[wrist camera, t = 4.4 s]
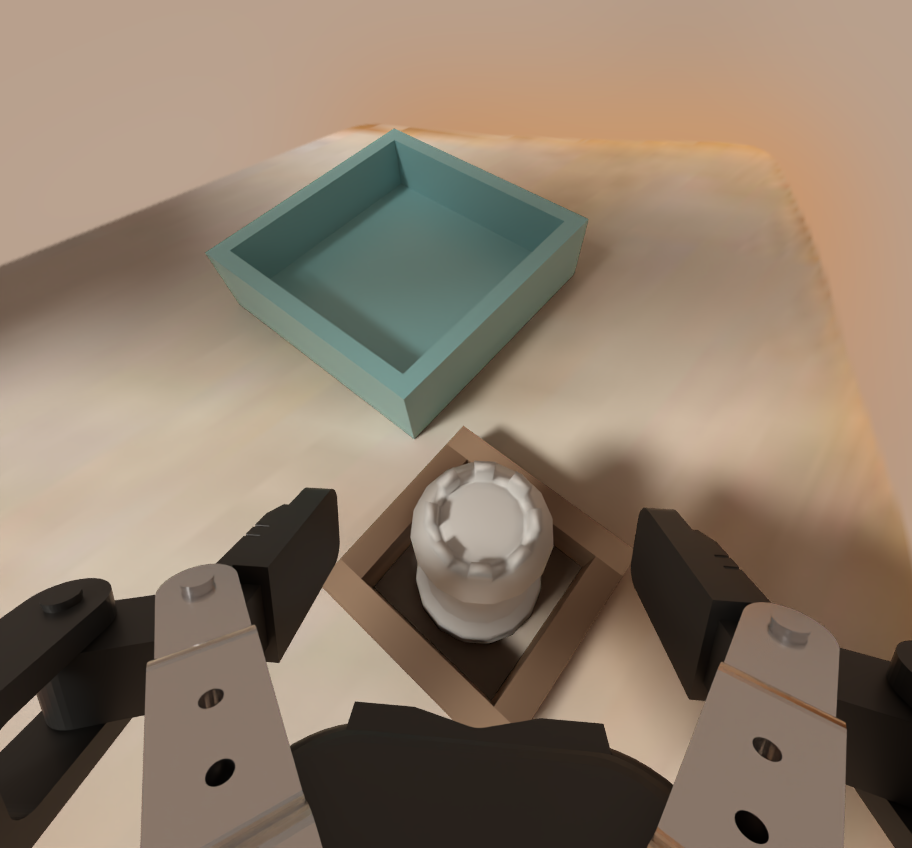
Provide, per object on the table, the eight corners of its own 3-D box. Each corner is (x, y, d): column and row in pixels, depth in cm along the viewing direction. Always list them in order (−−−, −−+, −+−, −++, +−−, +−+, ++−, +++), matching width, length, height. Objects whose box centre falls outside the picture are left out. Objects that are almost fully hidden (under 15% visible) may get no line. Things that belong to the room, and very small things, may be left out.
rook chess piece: (402, 623, 16) (343, 595, 8) (437, 505, 18) (413, 404, 10) (525, 661, 15) (574, 665, 8) (548, 534, 17) (603, 445, 10)
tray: (238, 303, 23) (205, 252, 20) (402, 184, 27) (393, 128, 24) (414, 438, 19) (403, 399, 16) (574, 274, 23) (588, 219, 20)
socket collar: (335, 591, 16) (318, 582, 14) (464, 447, 19) (463, 425, 17) (496, 753, 14) (500, 768, 12) (620, 563, 16) (638, 552, 14)
